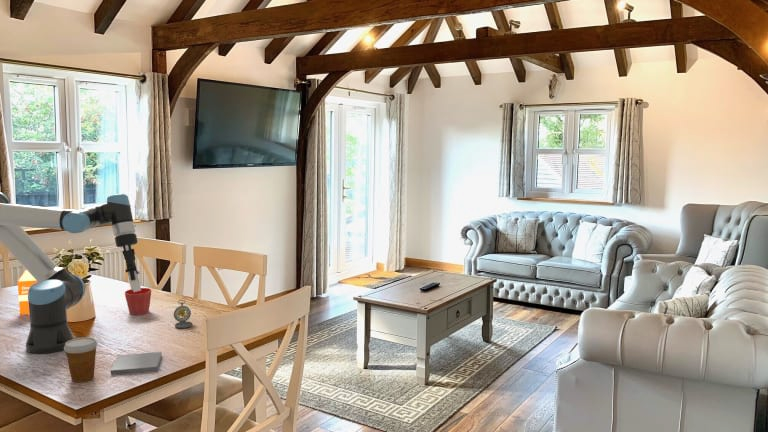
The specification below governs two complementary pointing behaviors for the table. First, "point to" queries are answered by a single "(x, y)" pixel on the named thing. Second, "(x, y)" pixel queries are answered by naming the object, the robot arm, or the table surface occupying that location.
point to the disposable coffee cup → (81, 358)
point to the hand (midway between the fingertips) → (136, 290)
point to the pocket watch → (181, 311)
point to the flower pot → (138, 301)
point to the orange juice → (25, 291)
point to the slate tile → (136, 363)
